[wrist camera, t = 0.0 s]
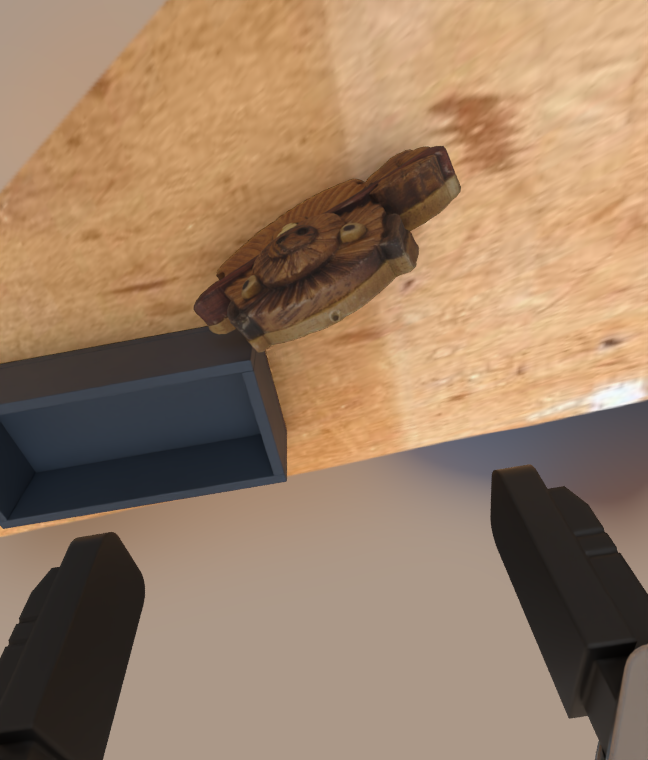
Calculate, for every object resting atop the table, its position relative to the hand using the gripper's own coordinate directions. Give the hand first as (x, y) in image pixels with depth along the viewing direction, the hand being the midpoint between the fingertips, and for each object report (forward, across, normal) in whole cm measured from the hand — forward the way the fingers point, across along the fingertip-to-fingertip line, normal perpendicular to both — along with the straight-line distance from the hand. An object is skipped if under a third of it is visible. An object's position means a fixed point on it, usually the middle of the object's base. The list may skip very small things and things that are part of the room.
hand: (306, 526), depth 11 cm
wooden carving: (+25, -1, +1) cm, 25 cm away
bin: (+24, +15, +12) cm, 31 cm away
